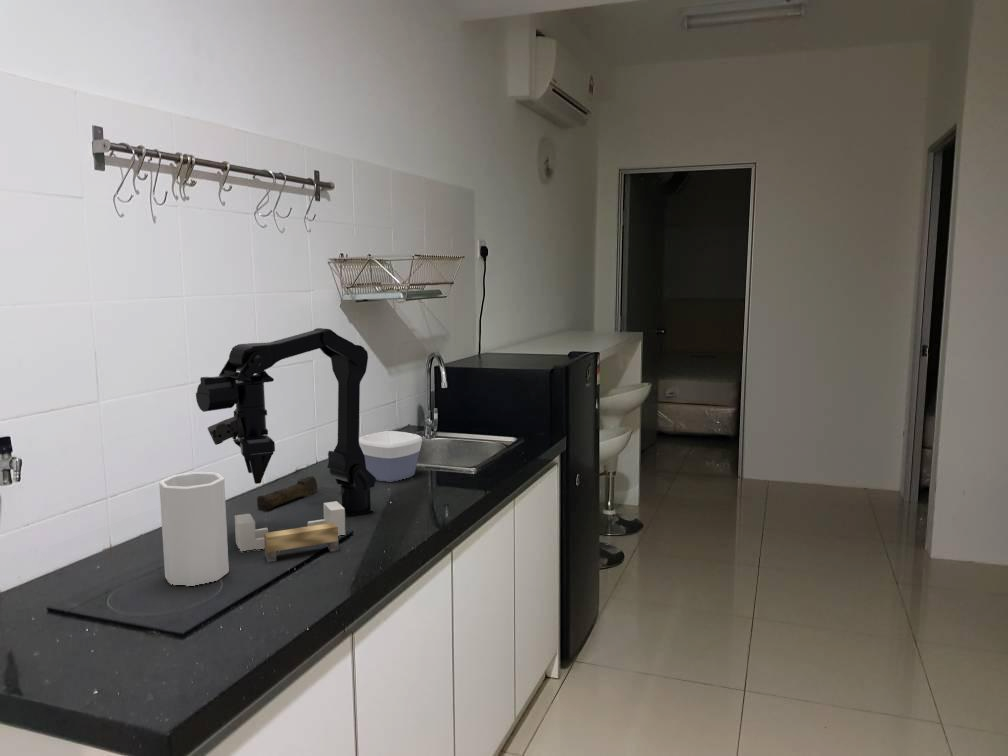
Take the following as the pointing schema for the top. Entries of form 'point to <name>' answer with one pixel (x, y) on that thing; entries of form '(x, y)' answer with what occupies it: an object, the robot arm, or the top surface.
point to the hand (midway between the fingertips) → (254, 477)
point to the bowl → (391, 454)
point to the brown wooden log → (288, 494)
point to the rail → (301, 538)
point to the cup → (194, 528)
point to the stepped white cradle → (255, 537)
